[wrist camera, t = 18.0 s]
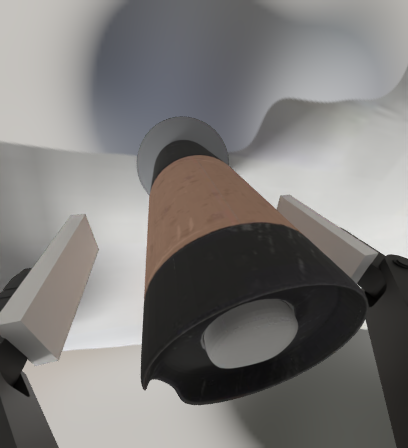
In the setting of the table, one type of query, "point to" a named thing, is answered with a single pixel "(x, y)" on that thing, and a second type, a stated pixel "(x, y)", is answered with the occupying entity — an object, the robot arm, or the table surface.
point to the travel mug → (233, 285)
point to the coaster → (172, 132)
